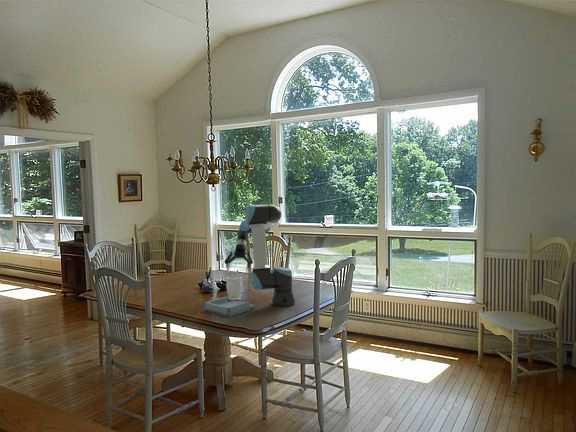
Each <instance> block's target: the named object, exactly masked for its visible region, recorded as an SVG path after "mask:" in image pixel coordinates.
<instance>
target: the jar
mask: <svg viewBox="0 0 576 432" xmlns="http://www.w3.org/2000/svg"><path fill="white" fill-rule="evenodd" d="M225 278H226V291H227V295H228V296H227V297H228V301H239V300H241V299H242V297H241V296H242V292H243V281H242V278H243V277H242V276H240V275H229V276H227V277H225Z"/></svg>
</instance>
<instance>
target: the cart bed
mask: <svg viewBox="0 0 576 432" xmlns="http://www.w3.org/2000/svg"><path fill="white" fill-rule="evenodd" d="M228 298H229V296H223V297H219V298H216V299H212V300H208V301H206V302H203V310H204V311H205V312H207V313H208V312H209V313H212V314H216V315H220V316H223V317H228V318H229V317H233V316H236V315H238V314H241V313H245V312H248V311H251V309H252V308H255V304H251V301H241V300H240V301H239V300H229V299H228Z"/></svg>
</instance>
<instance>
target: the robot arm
mask: <svg viewBox="0 0 576 432" xmlns="http://www.w3.org/2000/svg"><path fill="white" fill-rule="evenodd" d="M245 210H246V211H245V219H244V220H242V221H241V222H240V224H239V227H238V231H237V237H236V243H235V250H234V252H233V251H230V253H229V255H228V256H227V257H226V259H224V264H225V266H226V272H227V273H228V274H229V273H230V266H231V263H232V262H233V261H235V260H236V259H244V260H245V261H246V267H245V268H246V269H245V272H246V273H248V272H249V269H251V268H250V267H251V265H253V267H252V269H251V270H252V271H250V272H249V279H250V285H251V286H252V288H253V289H254V290H255V291H262V290H270V289H272V290H273V295H272V298H271V305H272V306H276V307H290V306H294V305H295V304H296V298H295V296H294V293H293V274H292V273H293V272H292V269H291V268H289V267H285V266H283V267H282V266H274V267H273V269H271V266H270V265H269V264H268V263H269V262H268V251H267V239H266V233H269V232H270V230H271V226H272V225H274V224H275V223H278V222H279V221H280V220H281V219H282V211H281V209H280V208H279V207H278V206H277V205H275V204H271V203H267V204H265V203H264V204H250V205H248V206H247V207H246V209H245ZM249 234H251V241H252V251H253V260H252V257H251V255H250V251H246V250H247V243H248V237H249ZM246 256H247V257H248V258H247V257H246Z"/></svg>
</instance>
